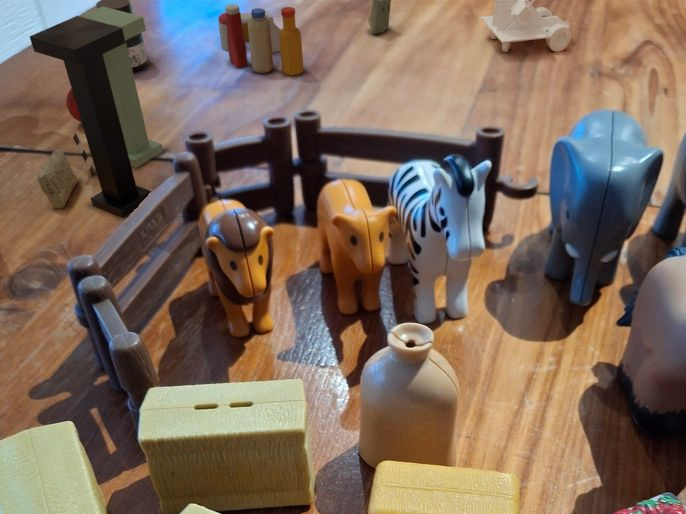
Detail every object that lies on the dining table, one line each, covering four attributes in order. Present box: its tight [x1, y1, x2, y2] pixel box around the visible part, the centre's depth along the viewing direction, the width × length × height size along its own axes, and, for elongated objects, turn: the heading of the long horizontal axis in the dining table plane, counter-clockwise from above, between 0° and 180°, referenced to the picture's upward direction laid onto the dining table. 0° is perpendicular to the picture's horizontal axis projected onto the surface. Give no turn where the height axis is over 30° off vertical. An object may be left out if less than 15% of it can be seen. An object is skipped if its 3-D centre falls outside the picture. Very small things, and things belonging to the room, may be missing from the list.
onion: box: [66, 88, 82, 123], centre depth 136 cm, size 6×6×8 cm
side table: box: [79, 6, 164, 169], centre depth 123 cm, size 9×9×22 cm
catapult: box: [479, 0, 572, 53], centre depth 156 cm, size 18×14×16 cm
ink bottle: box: [95, 0, 149, 73], centre depth 152 cm, size 10×9×12 cm
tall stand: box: [29, 15, 152, 219], centre depth 111 cm, size 9×9×26 cm
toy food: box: [217, 3, 304, 77], centre depth 154 cm, size 27×13×12 cm, turn 26°
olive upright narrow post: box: [367, 0, 392, 37], centre depth 164 cm, size 6×5×8 cm
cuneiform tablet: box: [37, 133, 96, 210], centre depth 121 cm, size 7×4×12 cm
